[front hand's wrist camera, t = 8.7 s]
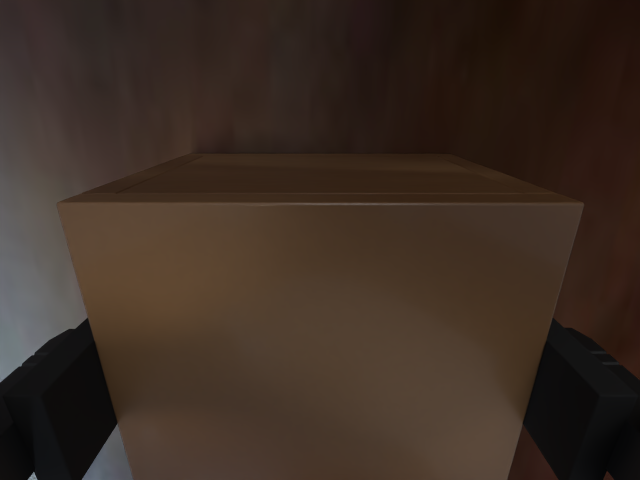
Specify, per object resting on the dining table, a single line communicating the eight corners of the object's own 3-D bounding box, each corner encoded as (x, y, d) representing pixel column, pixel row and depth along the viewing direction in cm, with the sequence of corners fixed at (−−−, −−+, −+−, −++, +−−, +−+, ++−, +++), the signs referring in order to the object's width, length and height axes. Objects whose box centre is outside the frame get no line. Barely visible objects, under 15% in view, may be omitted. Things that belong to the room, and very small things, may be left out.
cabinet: (408, 471, 21) (455, 664, 14) (231, 471, 21) (184, 664, 14) (451, 153, 15) (587, 202, 7) (189, 153, 15) (53, 202, 7)
